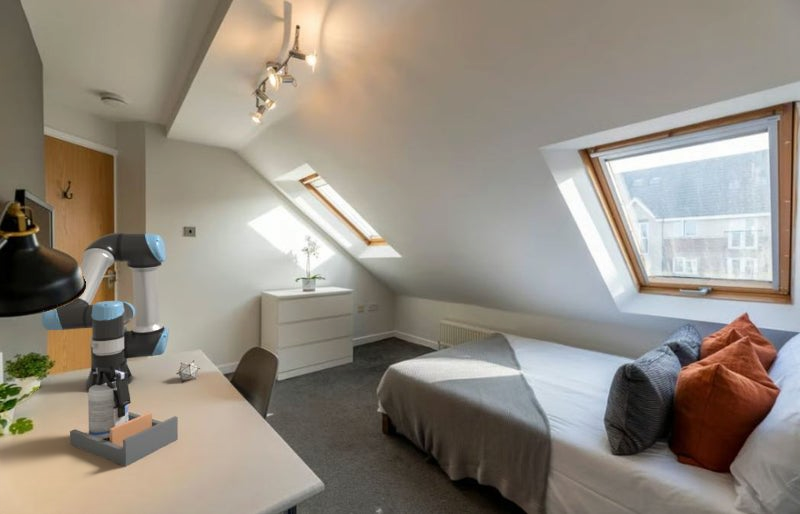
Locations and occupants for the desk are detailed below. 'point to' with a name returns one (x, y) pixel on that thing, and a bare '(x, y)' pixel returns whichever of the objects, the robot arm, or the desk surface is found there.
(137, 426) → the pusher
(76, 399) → the desk surface
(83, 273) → the robot arm
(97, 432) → the supplement tub
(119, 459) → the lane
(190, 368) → the game die
